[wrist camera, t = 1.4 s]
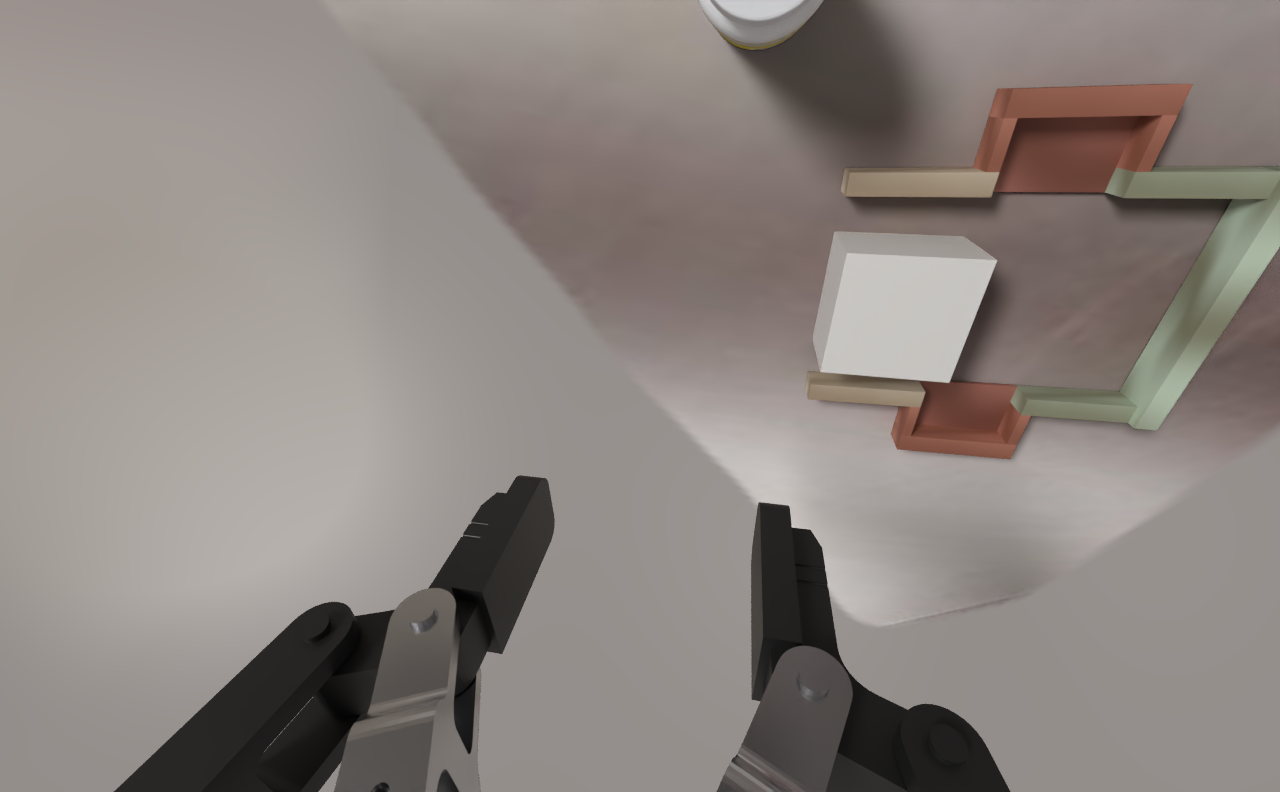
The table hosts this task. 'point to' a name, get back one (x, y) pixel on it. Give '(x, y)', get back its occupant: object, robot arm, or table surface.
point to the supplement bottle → (758, 20)
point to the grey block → (899, 304)
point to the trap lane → (1079, 162)
